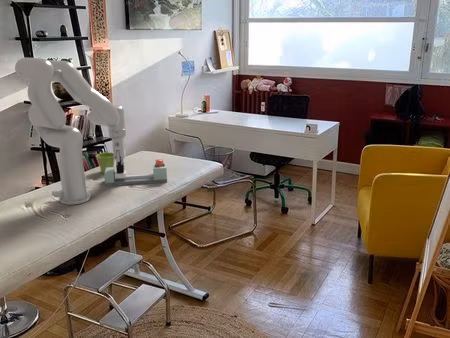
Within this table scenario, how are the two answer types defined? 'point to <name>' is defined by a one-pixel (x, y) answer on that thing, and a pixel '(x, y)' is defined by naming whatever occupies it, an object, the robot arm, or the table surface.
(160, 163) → the button
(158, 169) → the rail track
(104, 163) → the plant pot
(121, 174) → the carriage
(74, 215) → the table surface
